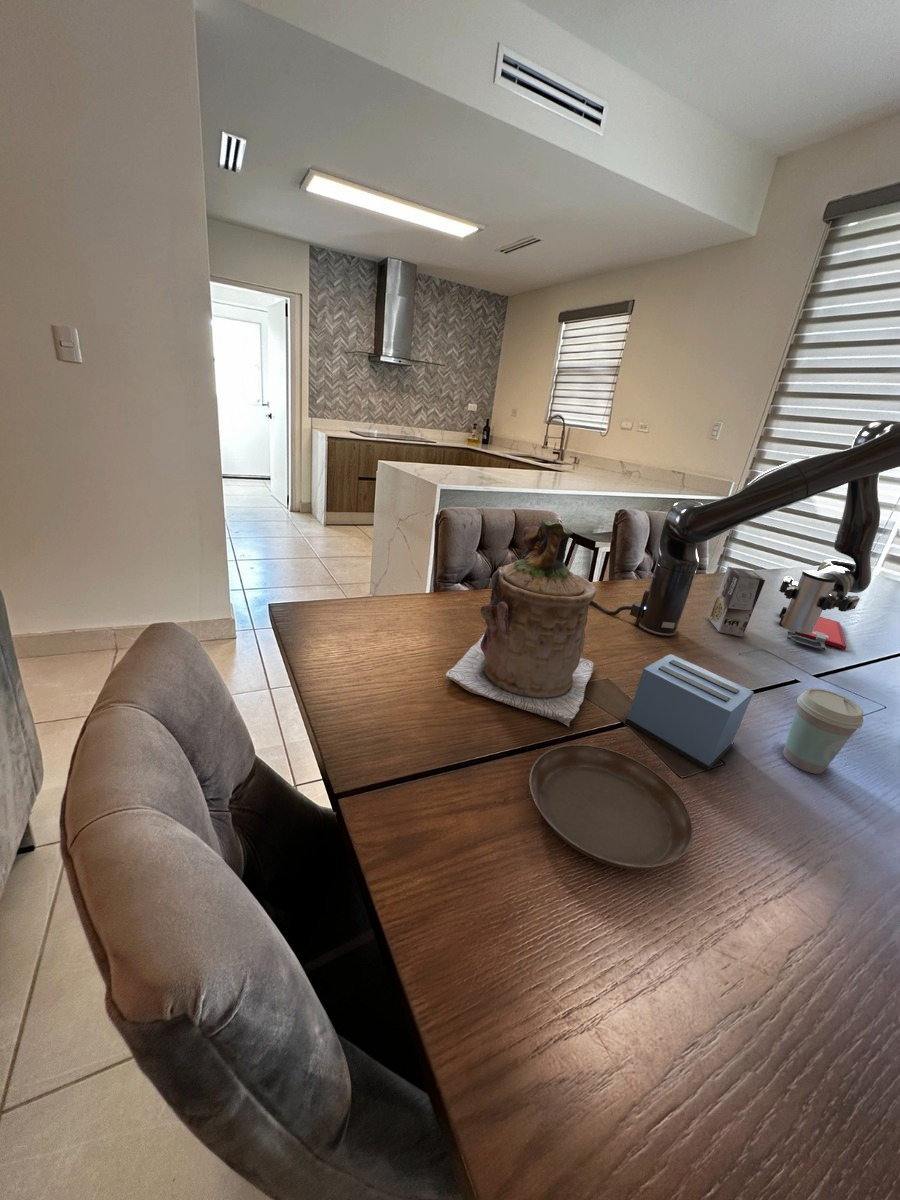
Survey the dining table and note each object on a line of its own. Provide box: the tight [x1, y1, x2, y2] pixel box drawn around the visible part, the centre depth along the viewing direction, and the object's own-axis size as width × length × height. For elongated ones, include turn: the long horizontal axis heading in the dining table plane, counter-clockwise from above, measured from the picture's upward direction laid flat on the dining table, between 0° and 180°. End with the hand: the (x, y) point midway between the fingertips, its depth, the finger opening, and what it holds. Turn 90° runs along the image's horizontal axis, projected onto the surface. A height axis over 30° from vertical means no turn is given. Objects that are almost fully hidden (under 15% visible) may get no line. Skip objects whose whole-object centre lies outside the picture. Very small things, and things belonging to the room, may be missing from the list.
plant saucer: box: [529, 743, 694, 870], centre depth 62 cm, size 21×21×3 cm
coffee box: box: [708, 566, 766, 637], centre depth 126 cm, size 9×6×16 cm
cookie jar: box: [445, 519, 598, 727], centre depth 87 cm, size 25×25×32 cm
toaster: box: [624, 653, 755, 772], centre depth 80 cm, size 14×11×11 cm
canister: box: [781, 569, 837, 634], centre depth 97 cm, size 6×6×12 cm
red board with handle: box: [778, 606, 848, 651], centre depth 132 cm, size 30×3×15 cm
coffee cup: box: [782, 687, 864, 775], centre depth 76 cm, size 9×8×12 cm
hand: (806, 599), depth 95 cm, fingers closed on canister, 5 cm apart
